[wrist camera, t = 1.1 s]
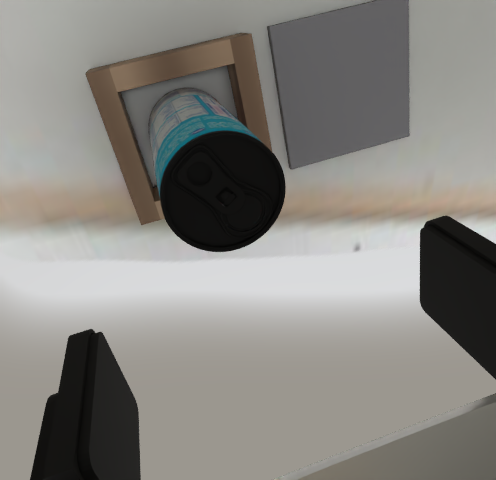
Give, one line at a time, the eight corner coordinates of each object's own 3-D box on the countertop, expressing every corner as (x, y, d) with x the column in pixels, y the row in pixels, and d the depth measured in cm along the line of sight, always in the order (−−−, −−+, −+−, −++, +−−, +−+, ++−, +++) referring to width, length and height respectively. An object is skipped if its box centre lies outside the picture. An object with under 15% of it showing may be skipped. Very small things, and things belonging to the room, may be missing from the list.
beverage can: (180, 178, 34) (210, 273, 21) (131, 118, 31) (131, 186, 18) (239, 134, 34) (307, 204, 21) (195, 69, 31) (242, 103, 18)
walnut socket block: (241, 32, 30) (251, 33, 28) (267, 173, 36) (278, 185, 33) (89, 69, 29) (85, 73, 26) (140, 209, 34) (141, 225, 32)
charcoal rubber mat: (404, -7, 32) (408, -7, 31) (406, 134, 37) (409, 136, 37) (267, 26, 31) (269, 26, 30) (289, 167, 36) (291, 169, 36)
